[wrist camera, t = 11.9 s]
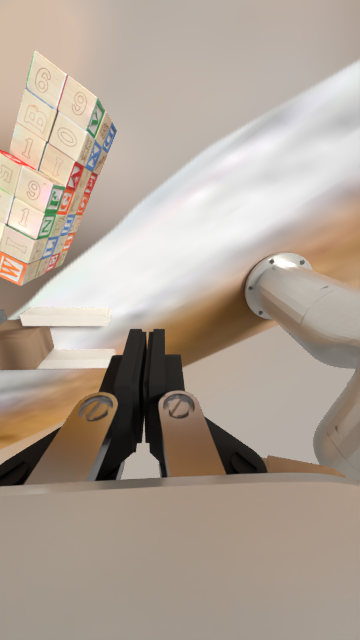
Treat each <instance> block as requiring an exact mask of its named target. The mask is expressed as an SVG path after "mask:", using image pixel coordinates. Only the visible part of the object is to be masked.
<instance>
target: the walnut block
mask: <svg viewBox="0 0 360 640" xmlns="http://www.w3.org/2000/svg"><path fill="white" fill-rule="evenodd" d="M53 348H54V344H53V340H52V336H51V332H50V328H49V326H23V325H22V322H21V320H6V321H5V322H3V323H2V324H1V325H0V370H32V369H37V368H38V366H39V365H40V364H41V363H42V361H43V360H44V359H45V358H46V357H47V355H48V354H49V353H50V352H51V350H52V349H53Z"/></svg>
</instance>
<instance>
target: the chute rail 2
mask: <svg viewBox="0 0 360 640" xmlns="http://www.w3.org/2000/svg"><path fill="white" fill-rule="evenodd" d="M113 355H115V349H52V350H51V352H50V353H49V354H48V355H47V357H46V358H45V359H44V360H43V361H42V363H41V364H40V365H39V366H38V368H37V369H63V368H108V365H109V362H110V360H111V357H112V356H113Z"/></svg>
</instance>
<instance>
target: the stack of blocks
mask: <svg viewBox="0 0 360 640" xmlns="http://www.w3.org/2000/svg"><path fill="white" fill-rule="evenodd" d="M115 134H116V129H115V126H114V125H113V123H112V121H111V119H110V117H109V115H108V113H107V112H106V111H105V109H104V108H103V106H102V105H101V103H100V101H99V99H98V98H97V97H96V96H95V95H93V94H92V93H90V92H89V91H88V90H87V89H85V88H84V87H83V86H82V85H80V84H79V83H78V82H76V81H75V80H74V79H73V78H71V77H70V76H68V75H66V74H65V73H64V72H63V71H61V70H60V69H59V68H58V67H56V66H55V65H54V64H52V63H51V62H50V61H48V60H47V59H46V58H45V57H43V56H42V55H41V54H40V53H38V52H37V51H35V52H34V53H33V58H32V63H31V66H30V71H29V74H28V79H27V83H26V88H25V89H24V92H23V96H22V100H21V104H20V109H19V113H18V116H17V122H16V124H15V127H14V131H13V135H12V140H11V145H10V154H9V153H7V152H5V151H1V150H0V277H1V278H4V279H6V280H8V281H10V282H12V283H14V284H17V285H19V286H22V285H24V284H26V283H28V282H29V281H31V280H33V279H36V278H38V277H40V276H42V275H43V274H44V273H46V272H48V271H50V270H52V269H53V268H57V267H59V266H60V265H62V263H63V261H64V258H65V256H66V254H67V251H68V249H69V248H70V246H71V243H72V241H73V238H74V236H75V233H76V231H77V229H78V226H79V224H80V222H81V219H82V217H83V212H84V209H85V207H86V205H87V202H88V200H89V197H90V194H91V191H92V189H93V187H94V184H95V181H96V179H97V176H98V175H99V174H100V172H101V169H102V167H103V164H104V162H105V160H106V157H107V153H108V151H109V149H110V147H111V144H112V142H113V139H114V137H115Z"/></svg>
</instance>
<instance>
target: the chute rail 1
mask: <svg viewBox="0 0 360 640" xmlns="http://www.w3.org/2000/svg"><path fill="white" fill-rule="evenodd" d="M20 319H21V322H22V325H23V326H108V324H109V322H110V320H111V309H110V308H62V307H31V308H29V309H28V310H26V311H25V312H23V313H22V314H21V315H20Z"/></svg>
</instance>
